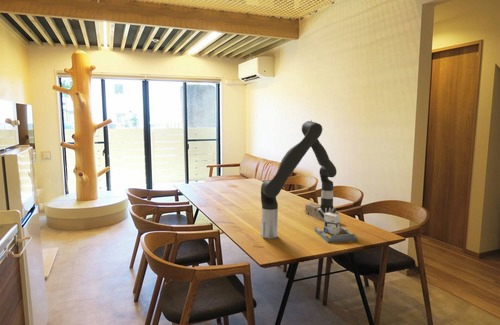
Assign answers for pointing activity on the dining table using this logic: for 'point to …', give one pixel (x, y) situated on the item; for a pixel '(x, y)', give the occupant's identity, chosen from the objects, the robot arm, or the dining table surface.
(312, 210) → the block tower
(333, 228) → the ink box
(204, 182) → the dining table surface
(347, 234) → the channel
